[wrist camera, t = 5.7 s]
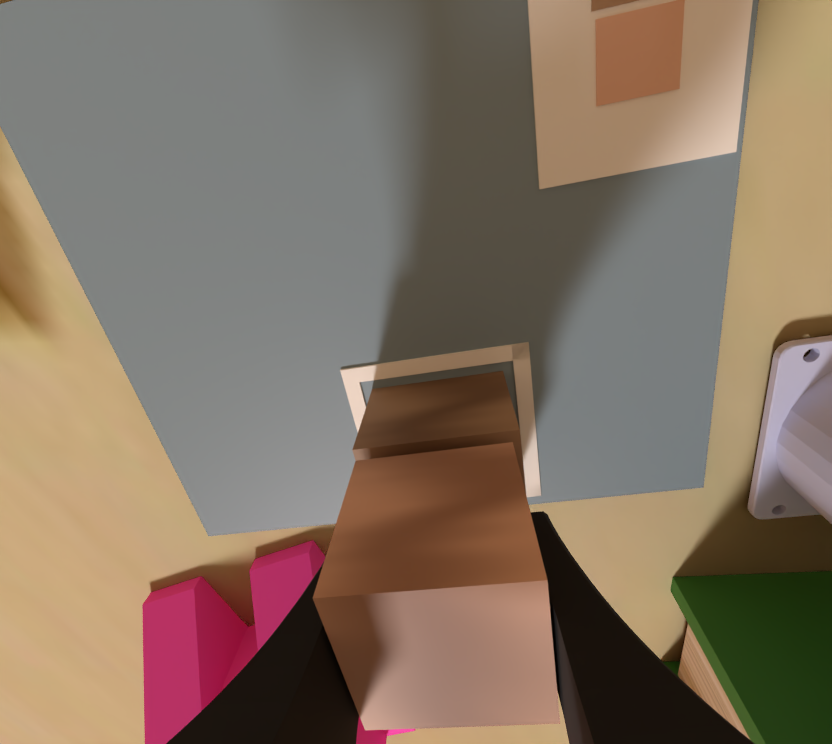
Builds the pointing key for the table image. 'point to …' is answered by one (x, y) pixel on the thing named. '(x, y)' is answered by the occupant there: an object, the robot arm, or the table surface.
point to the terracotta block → (440, 593)
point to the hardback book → (761, 652)
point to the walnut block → (439, 417)
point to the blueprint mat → (393, 223)
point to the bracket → (217, 640)
